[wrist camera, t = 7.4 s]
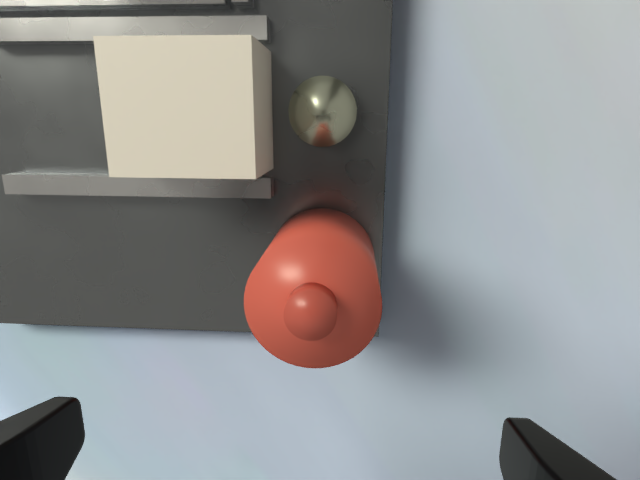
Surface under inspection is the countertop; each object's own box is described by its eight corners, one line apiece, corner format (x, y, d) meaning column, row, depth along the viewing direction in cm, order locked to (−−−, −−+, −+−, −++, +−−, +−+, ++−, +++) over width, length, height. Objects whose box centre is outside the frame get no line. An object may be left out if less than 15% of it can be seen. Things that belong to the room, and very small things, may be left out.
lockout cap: (376, 209, 18) (387, 247, 13) (372, 308, 19) (381, 384, 14) (269, 207, 19) (234, 244, 13) (271, 305, 20) (240, 378, 14)
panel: (401, -269, 15) (409, -332, 13) (377, 324, 21) (379, 347, 19) (-95, -244, 16) (-162, -298, 14) (9, 311, 22) (-28, 332, 20)
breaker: (271, 51, 17) (251, 34, 14) (273, 168, 18) (256, 179, 15) (143, 52, 17) (92, 36, 14) (153, 166, 19) (109, 177, 15)
